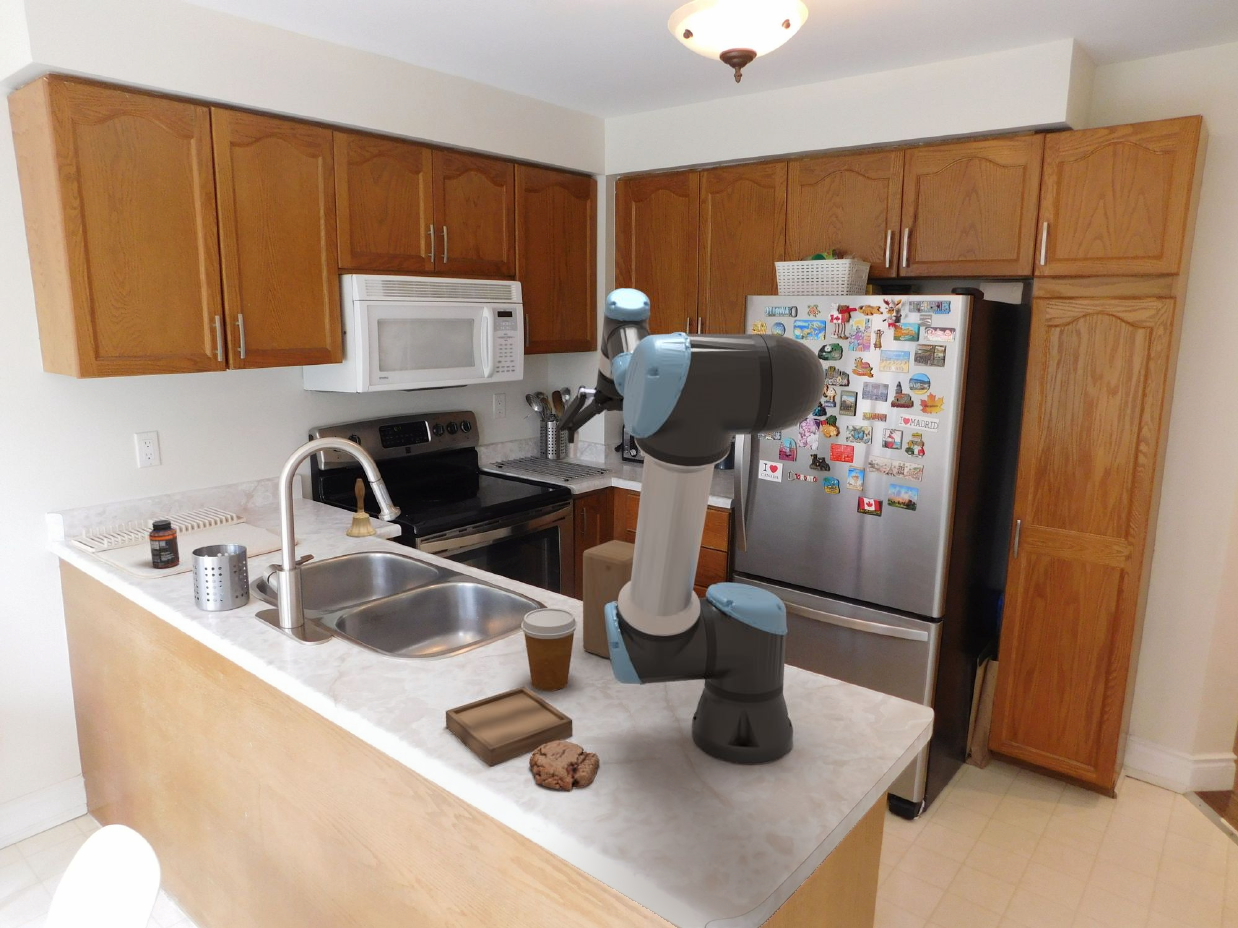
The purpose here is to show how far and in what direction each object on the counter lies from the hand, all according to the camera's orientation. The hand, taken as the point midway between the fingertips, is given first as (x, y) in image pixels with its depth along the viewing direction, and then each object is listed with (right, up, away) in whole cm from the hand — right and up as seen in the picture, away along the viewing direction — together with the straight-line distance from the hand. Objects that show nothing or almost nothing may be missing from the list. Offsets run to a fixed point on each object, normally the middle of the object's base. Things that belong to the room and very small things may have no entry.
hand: (608, 452), depth 160 cm
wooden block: (+2, -38, -6) cm, 38 cm away
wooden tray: (-15, -43, -36) cm, 58 cm away
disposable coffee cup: (-10, -40, -20) cm, 46 cm away
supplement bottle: (-111, -28, +42) cm, 122 cm away
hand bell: (-72, -22, +73) cm, 105 cm away
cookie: (-6, -46, -46) cm, 65 cm away
